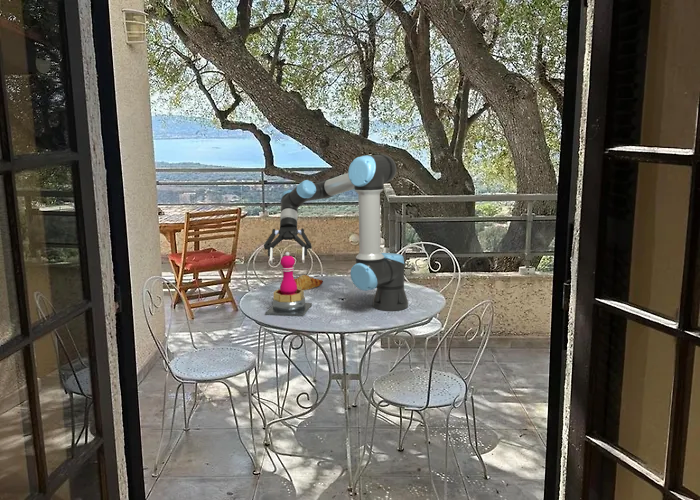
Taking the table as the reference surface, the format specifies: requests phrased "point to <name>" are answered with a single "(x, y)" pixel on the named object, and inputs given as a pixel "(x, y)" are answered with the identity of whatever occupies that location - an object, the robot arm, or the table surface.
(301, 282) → the croissant
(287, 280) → the pepper mill
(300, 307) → the silver and gold bowl
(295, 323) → the table surface
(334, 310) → the table surface
